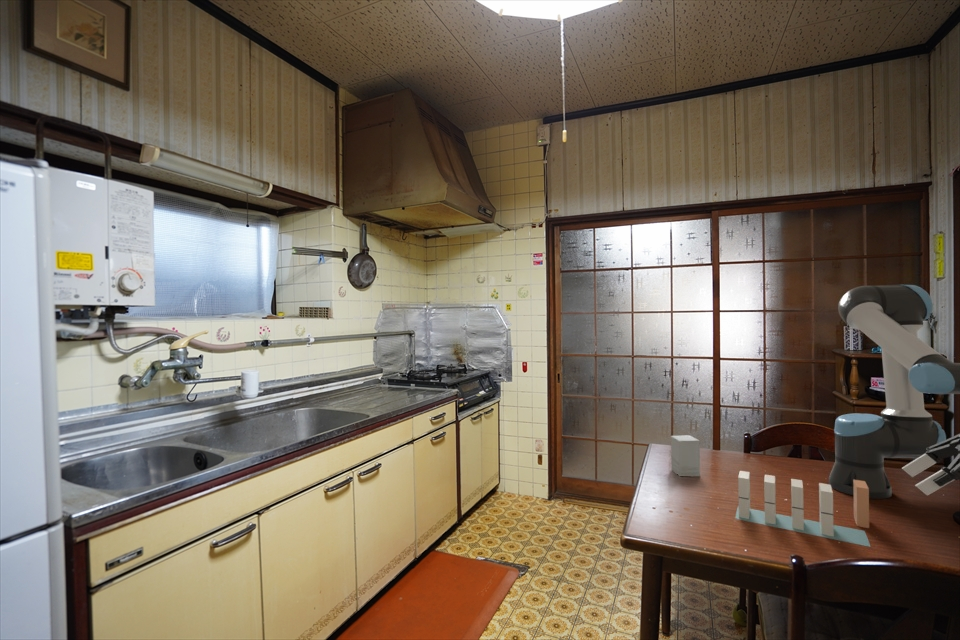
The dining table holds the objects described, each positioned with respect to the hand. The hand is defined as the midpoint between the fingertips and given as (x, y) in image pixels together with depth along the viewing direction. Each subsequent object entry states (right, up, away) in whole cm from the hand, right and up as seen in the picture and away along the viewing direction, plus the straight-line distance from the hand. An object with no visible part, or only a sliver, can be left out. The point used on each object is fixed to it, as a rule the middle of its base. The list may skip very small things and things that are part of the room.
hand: (913, 481), depth 111 cm
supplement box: (-36, -14, +47) cm, 60 cm away
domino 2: (-30, -14, +9) cm, 34 cm away
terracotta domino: (-8, -14, +6) cm, 17 cm away
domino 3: (-25, -14, +6) cm, 29 cm away
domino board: (-25, -14, +6) cm, 29 cm away
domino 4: (-20, -14, +2) cm, 24 cm away
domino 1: (-35, -14, +13) cm, 40 cm away
